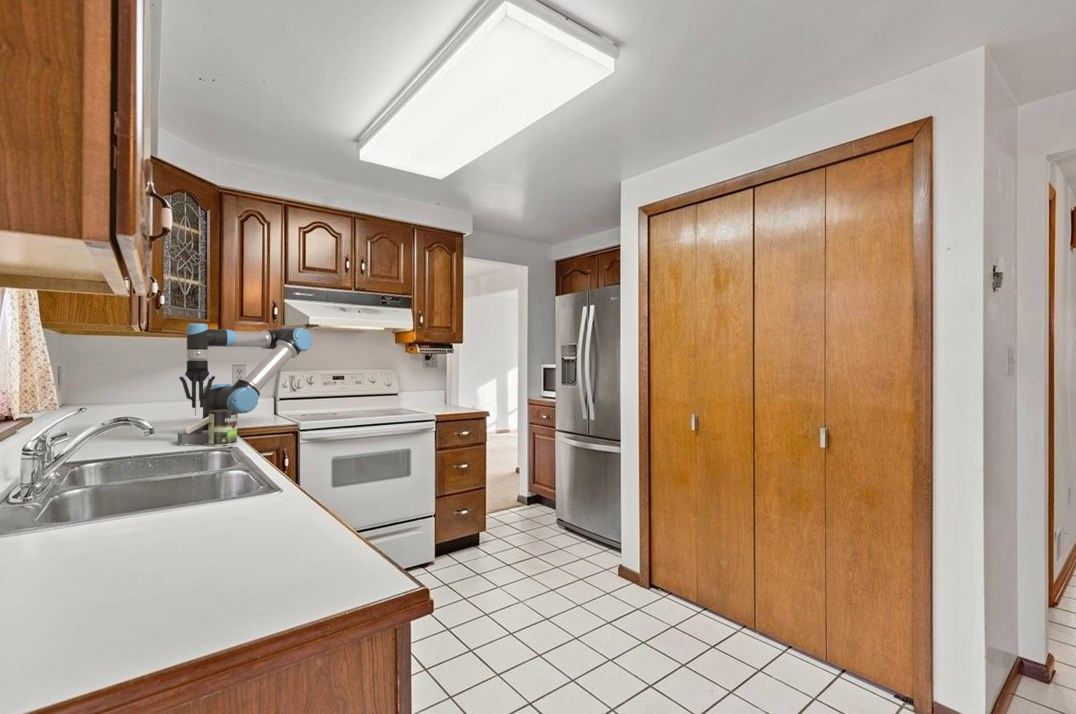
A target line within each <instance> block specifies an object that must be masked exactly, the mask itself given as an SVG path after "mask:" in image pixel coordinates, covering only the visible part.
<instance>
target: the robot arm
mask: <svg viewBox="0 0 1076 714" xmlns="http://www.w3.org/2000/svg"><path fill="white" fill-rule="evenodd" d="M185 335H186V359H187V361H186V371H185V373H184V375H182V376H179V378H178V379H179V380H180V381H181V383H182V387H183V390H184V393H185V397H186V399H187V400H190V401H191V407H192V409H194V416H196V417H200V416H201V408H202V419H201V420H203V419H204V418H206V417H208V416H209V411H210V410H220V409H236V410H238V412H237V415H238V414H249V413H250V412H251V411H253V410H254V409H255V408H256V407H257V405H258V403H259V401H258V400H259V399H260V398H259V397H260V396H261V392H260V391H261V390H262V389H263V388H264V387H265V386H266V385H267V384H268V382H270V381H271V380H272V378H273V377H274V376H276V374H277V373H278V372H279V371H280V370H281V369H282V368H283V367H284V366H285V364H287V363H288V361H289V360H291V359H296V357H297V356H299V355H300V353H302V352H306V351H308V350H309V349H310V348H311V347H312V345H313V336H312V335H311V332H310V331H309V330H308V329H306V328H304V327H292V328H291V327H289V328H288V327H283V328H277V329H276V328H275V329H263V330H260V331H249V330H248V331H244V330H243V331H242V330H231V329H221V328H217V329H216V328H209V325H208V324H207V323H197V322H196V323H195V322H193V323H188V324H187V326H186V334H185ZM209 347H213V348H214V347H219V348H220V347H221V348H222V347H226V348H227V347H229V348H231V347H232V348H236V347H237V348H238V347H239V348H241V347H243V348H261V349H262V350H263V349H264V350H271V351H270V352H269V353H268V354H267V355H266V356H265V357H264V358H263V359H262V360H261V361H260V362H259V364H257V365H256V367H254V368H253V370H252V371H250V373H248V375H246V376H245V377H244V378H240V379H238V380H237V381H236V382H234V384H232V383H221V384H219V383H218V384H213V382H214V380H215V379H216V376H214V375H212V374H210V371H209V361H208V359H209V353H208V351H209ZM187 378H188V379H187ZM206 379H208V380H207V384H206V385H205V386H204V381H206ZM187 380H189V381H190V382H191V393H190V389H189V386H188V384H187ZM197 382H198V399H197ZM200 428H201V429H202V431H206V430H209V423H208V424H206V425H204V426H202V427H200Z"/></svg>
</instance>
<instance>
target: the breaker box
mask: <svg viewBox="0 0 1076 714" xmlns="http://www.w3.org/2000/svg"><path fill="white" fill-rule="evenodd" d="M208 441H209V430H206V431H202V429H201V428H198V429H196V430H195V433H189V434H187V433H186V432H185V431H179V432H177V443H178V442H179V443H181V444H182V445H185V444H198V445H201V444H200V443H208ZM179 443H178V444H179ZM181 444H180V445H181ZM182 445H181V446H182Z"/></svg>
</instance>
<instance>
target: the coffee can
mask: <svg viewBox="0 0 1076 714" xmlns="http://www.w3.org/2000/svg"><path fill="white" fill-rule="evenodd" d="M237 412H238V410H236V409H220V410H210V411H209V441H208V444H207V446H208V445H211V446H210V447H222V446H221V445H230V446H232V445H231V444H235V445H237V444H238V414H237Z"/></svg>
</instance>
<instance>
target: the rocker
mask: <svg viewBox="0 0 1076 714" xmlns="http://www.w3.org/2000/svg"><path fill="white" fill-rule="evenodd" d="M202 419H203V418H202ZM202 419H200V420H199V421H197V422H195V423H193V424H192V425H188V426H187V427H186V428H184V429H183V430H184V432H186V433H187V434H189V433H191V432H193V431H195V430H196V429H199V428H200V427H202V426H204V425H206V424H208V423H209V416H208V417H206V418H204V419H203V420H202Z"/></svg>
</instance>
